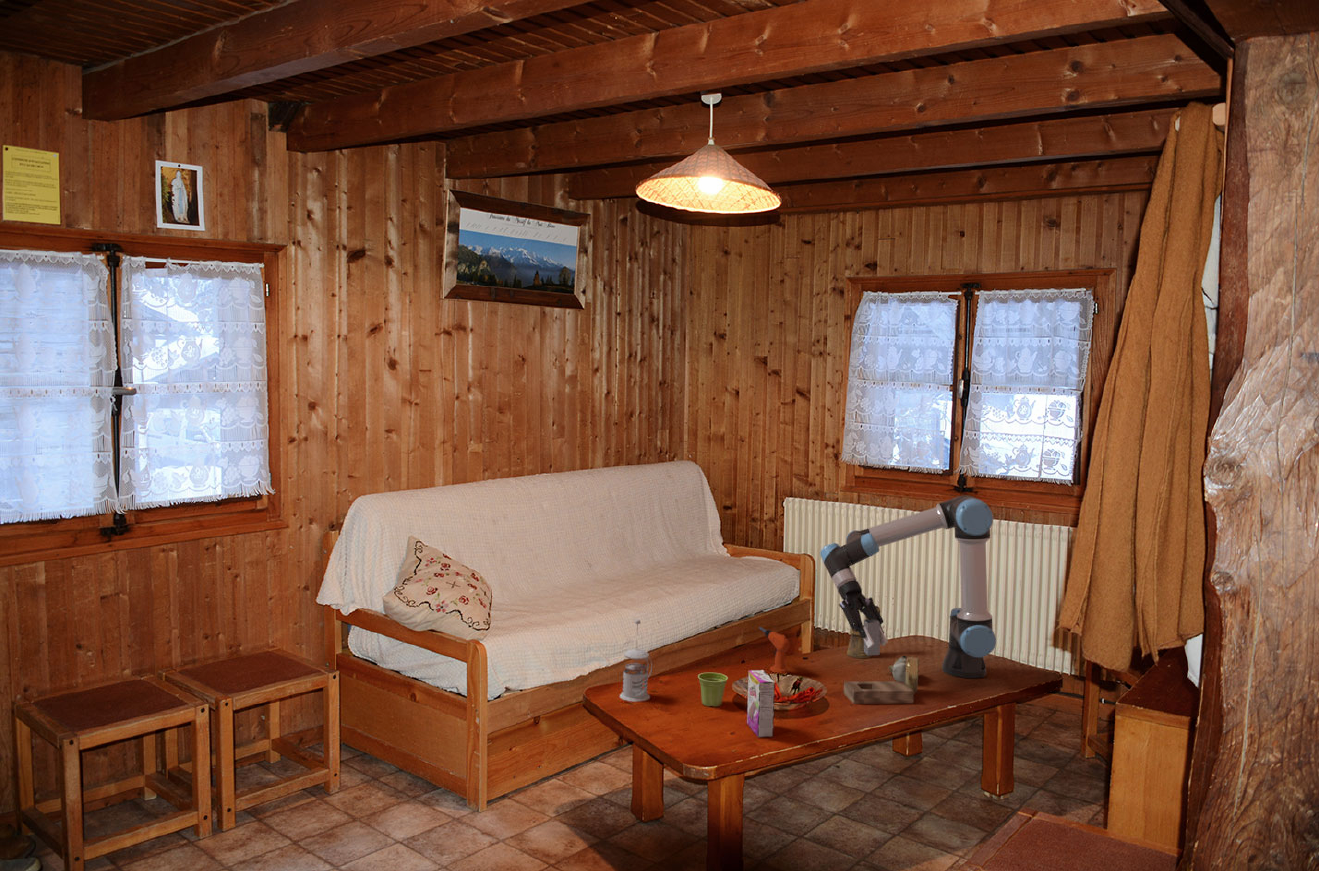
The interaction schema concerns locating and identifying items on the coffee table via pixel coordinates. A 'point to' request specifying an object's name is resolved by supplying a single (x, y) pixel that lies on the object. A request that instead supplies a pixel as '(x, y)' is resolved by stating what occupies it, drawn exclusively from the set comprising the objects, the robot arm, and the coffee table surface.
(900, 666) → the ceramic sculpture
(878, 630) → the square bit
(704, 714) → the coffee table surface
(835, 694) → the coffee table surface
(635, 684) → the french press
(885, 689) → the socket block
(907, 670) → the brass cylinder
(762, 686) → the candy bar box
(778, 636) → the toy drill
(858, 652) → the tan piece
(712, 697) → the plant pot
